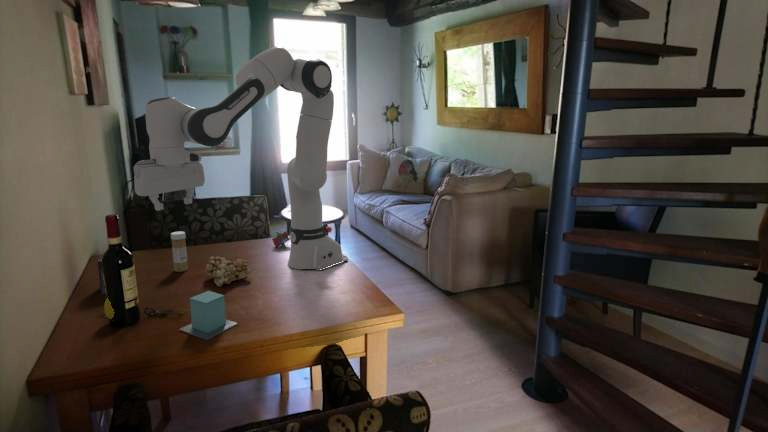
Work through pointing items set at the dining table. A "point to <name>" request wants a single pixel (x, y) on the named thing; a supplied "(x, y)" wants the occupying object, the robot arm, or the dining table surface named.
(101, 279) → the box
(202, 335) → the post
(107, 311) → the lemon
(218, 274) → the mineral formation
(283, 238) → the geometric puzzle
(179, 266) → the sprinkles bottle
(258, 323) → the dining table surface
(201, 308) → the tall teal block
